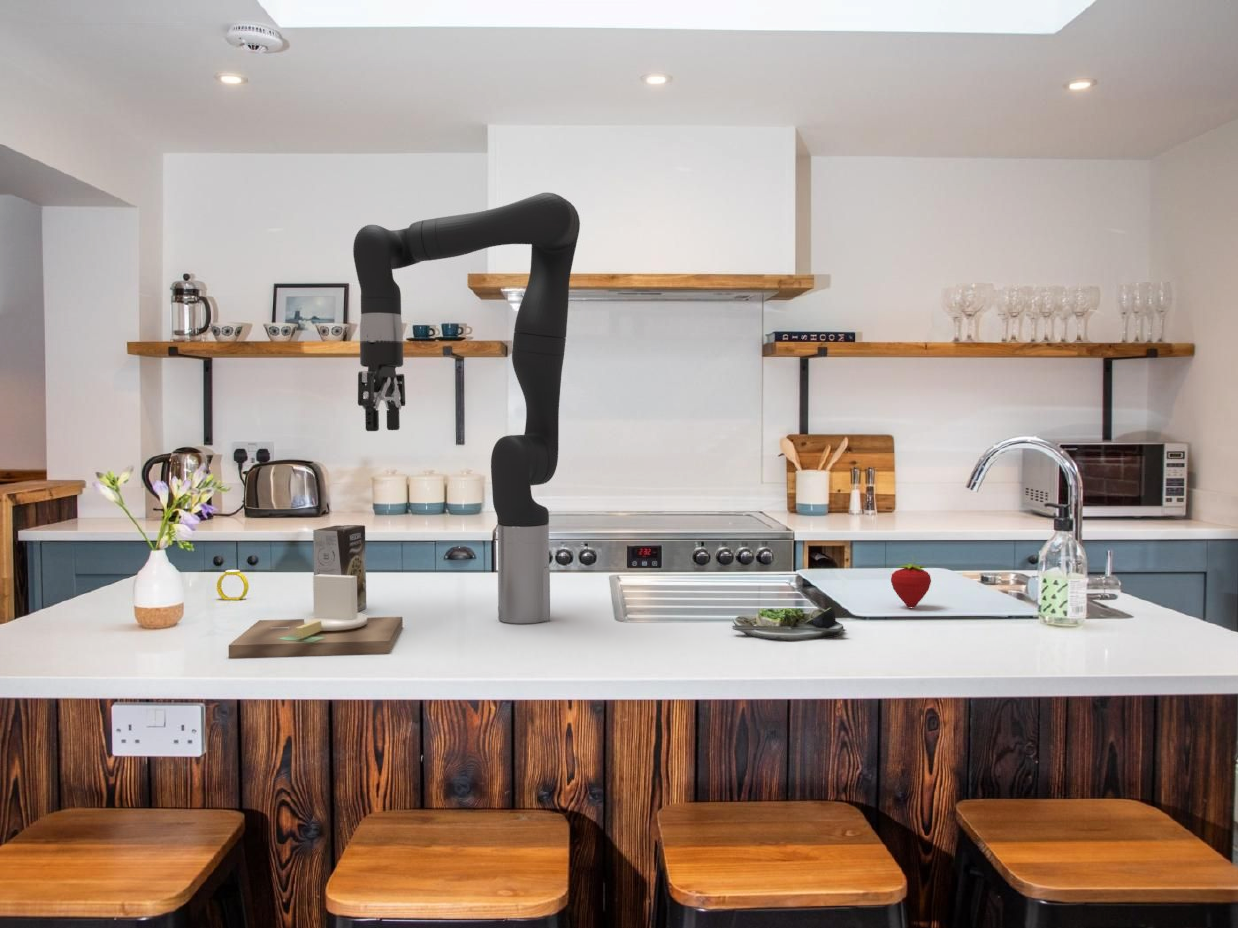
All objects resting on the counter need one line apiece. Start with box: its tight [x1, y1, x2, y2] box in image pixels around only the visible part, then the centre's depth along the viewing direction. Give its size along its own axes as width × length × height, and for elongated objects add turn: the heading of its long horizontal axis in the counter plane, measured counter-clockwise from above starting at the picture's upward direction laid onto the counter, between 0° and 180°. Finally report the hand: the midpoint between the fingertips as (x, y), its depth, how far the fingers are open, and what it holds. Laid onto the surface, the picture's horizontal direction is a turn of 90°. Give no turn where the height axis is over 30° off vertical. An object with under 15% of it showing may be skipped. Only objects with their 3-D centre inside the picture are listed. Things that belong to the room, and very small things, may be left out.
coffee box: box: [312, 524, 367, 613], centre depth 182 cm, size 9×6×16 cm
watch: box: [216, 569, 249, 601], centre depth 196 cm, size 6×3×6 cm, turn 87°
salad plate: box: [732, 606, 847, 641], centre depth 166 cm, size 19×18×5 cm
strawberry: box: [890, 555, 932, 608], centre depth 184 cm, size 6×8×10 cm
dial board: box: [228, 616, 404, 659], centre depth 159 cm, size 24×18×2 cm
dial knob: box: [296, 574, 368, 638], centre depth 158 cm, size 16×10×8 cm, turn 164°
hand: (382, 430), depth 176 cm, fingers open, 8 cm apart
